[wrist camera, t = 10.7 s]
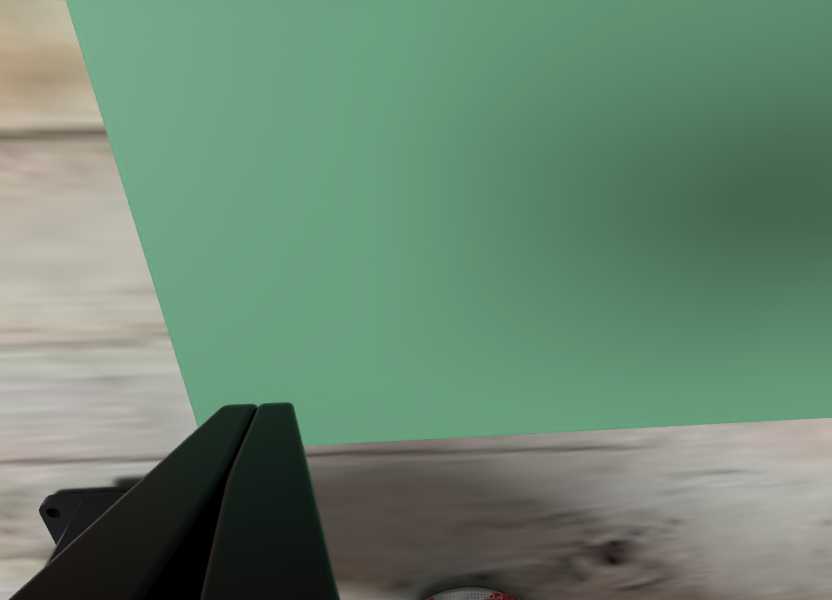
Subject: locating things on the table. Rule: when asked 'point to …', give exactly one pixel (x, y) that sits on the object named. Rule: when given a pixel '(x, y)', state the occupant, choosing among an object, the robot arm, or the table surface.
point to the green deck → (480, 207)
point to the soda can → (471, 594)
